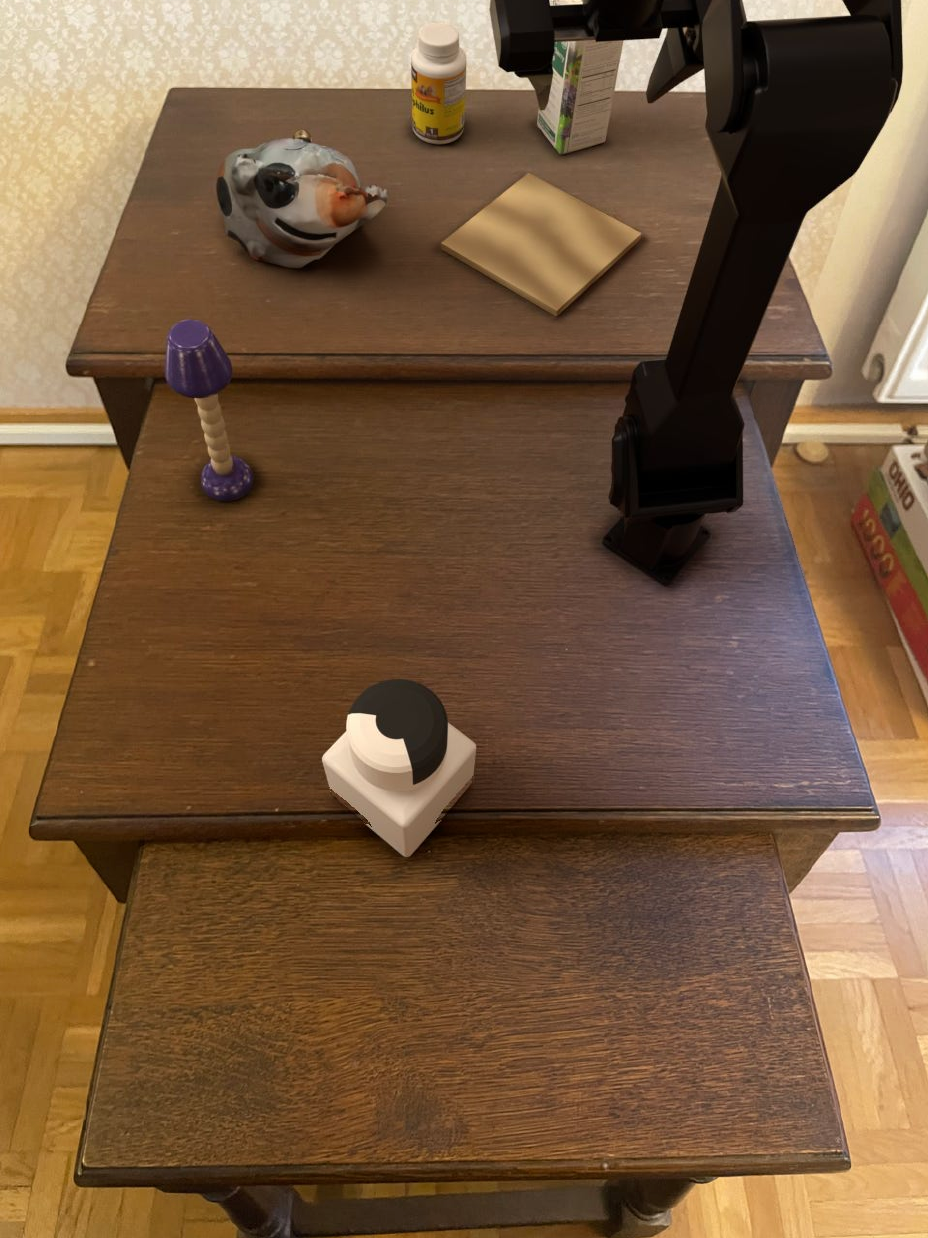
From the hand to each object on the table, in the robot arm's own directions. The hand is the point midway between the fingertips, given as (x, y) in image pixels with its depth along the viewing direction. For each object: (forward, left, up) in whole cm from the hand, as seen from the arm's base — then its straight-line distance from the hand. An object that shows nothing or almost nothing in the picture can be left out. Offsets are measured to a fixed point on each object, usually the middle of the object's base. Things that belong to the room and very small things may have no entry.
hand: (595, 101), depth 81 cm
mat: (-1, +3, -16) cm, 16 cm away
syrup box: (+15, +11, -16) cm, 24 cm away
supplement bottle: (+6, +22, -16) cm, 28 cm away
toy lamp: (-41, +5, -16) cm, 44 cm away
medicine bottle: (-52, -23, -16) cm, 59 cm away
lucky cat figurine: (-15, +21, -16) cm, 30 cm away
